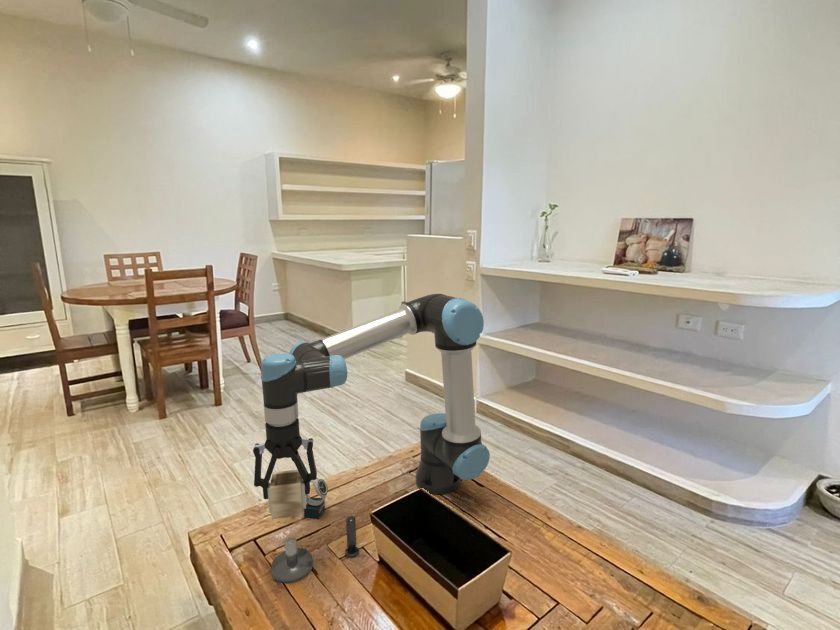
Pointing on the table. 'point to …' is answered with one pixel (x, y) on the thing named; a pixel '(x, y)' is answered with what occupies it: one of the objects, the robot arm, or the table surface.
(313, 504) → the watch
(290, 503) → the wooden square sleeve
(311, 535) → the table surface
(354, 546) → the stand
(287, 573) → the stand
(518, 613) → the table surface
